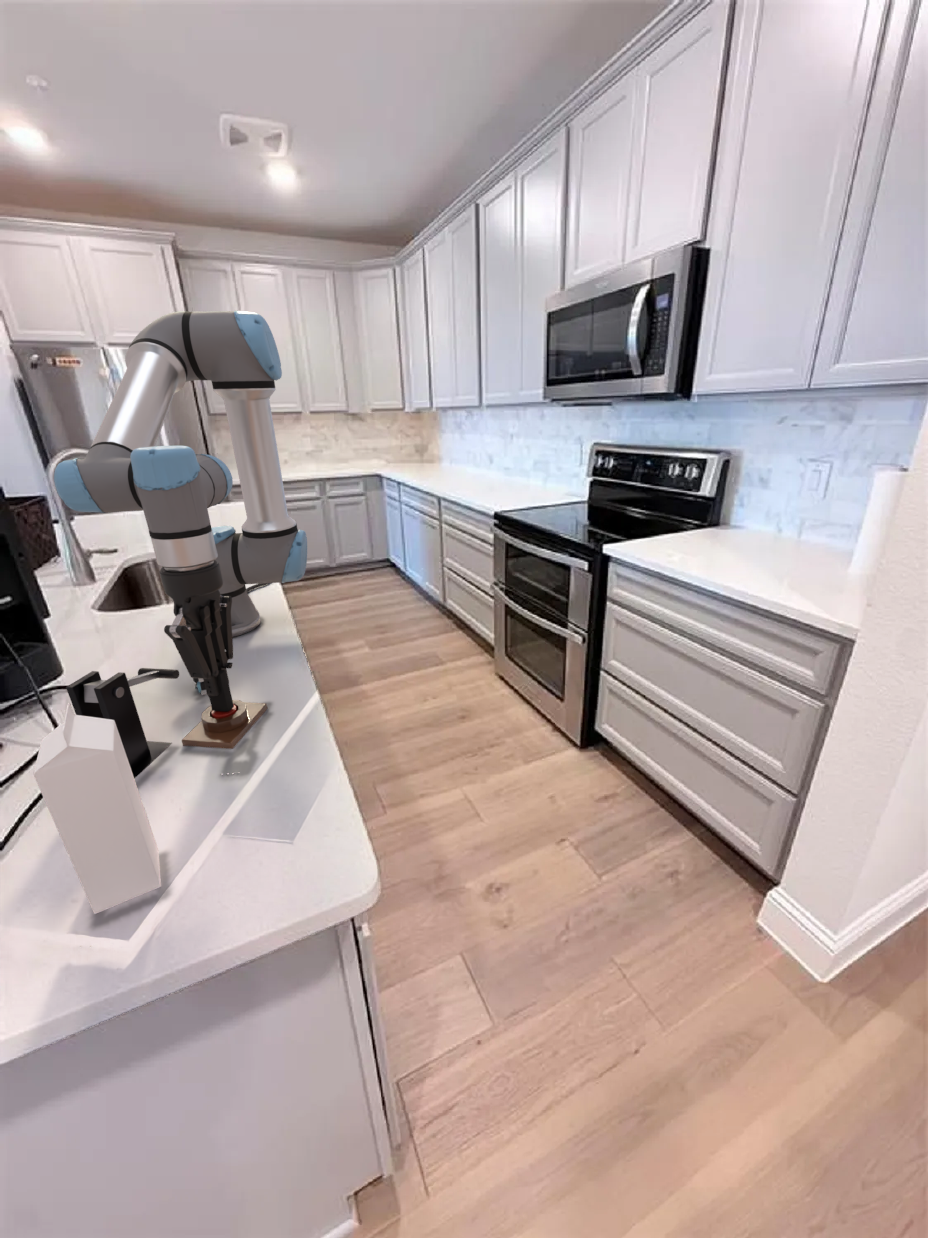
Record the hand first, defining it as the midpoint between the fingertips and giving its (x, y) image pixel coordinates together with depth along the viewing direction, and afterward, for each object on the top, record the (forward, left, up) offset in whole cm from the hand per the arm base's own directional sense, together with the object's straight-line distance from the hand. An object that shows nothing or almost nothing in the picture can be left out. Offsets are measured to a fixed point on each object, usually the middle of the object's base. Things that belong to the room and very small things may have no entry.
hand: (223, 708), depth 79 cm
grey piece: (-11, -11, -5) cm, 16 cm away
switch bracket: (+10, -10, -5) cm, 15 cm away
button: (0, 0, -2) cm, 2 cm away
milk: (+28, +5, -5) cm, 29 cm away
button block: (0, 0, -5) cm, 5 cm away
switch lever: (+5, -10, +6) cm, 13 cm away
